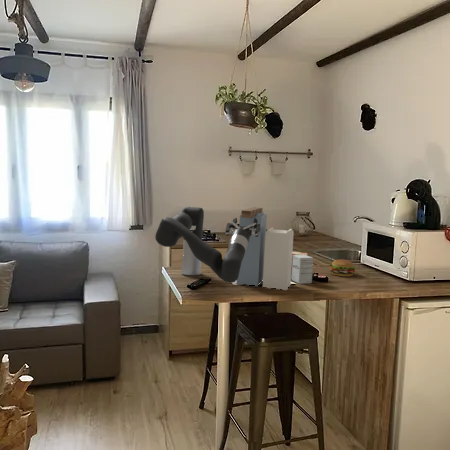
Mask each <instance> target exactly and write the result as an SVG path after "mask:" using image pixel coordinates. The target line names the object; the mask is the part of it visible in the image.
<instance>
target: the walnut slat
mask: <svg viewBox="0 0 450 450" xmlns="http://www.w3.org/2000/svg"><path fill="white" fill-rule="evenodd" d="M261 212H263V207H256V206H254V207H251V208H249V207H248V208H247V209H243V210H241V214H240V215H241V217H242V218H252V217H255V216H256V214H258V213H261Z"/></svg>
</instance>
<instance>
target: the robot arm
mask: <svg viewBox="0 0 450 450" xmlns="http://www.w3.org/2000/svg"><path fill="white" fill-rule="evenodd" d="M204 220H205V212H204V209H203V207H198V206H197V207H195V206H185V207H184V208H182V209H181V210H180V212H178V213H177V214H176V215H174V216H172V217H170V216H169V217H167V216H164V217H162V218H161V220H160V222H159V225H158V227H157V230H156V232H155V235H154V237H155V240H156V243H158V244H159V245H160V246H162V247H167V248H171V247H175V245H176V244H177V242H178V241H179V239H181V238H182V237H183V244H182V256H181V257H182V258H181V275H185V276H199V275H201V274H202V272H201V271H202V263H203V264H204V265H206V266H208V267H209V268H210V269H211V270H212V271H213V272H214V274H216V276H217V277H218V278H219V279H220V280H222V281H224V282H226V283H228V284H229V283H235V282H237V279H238V277H239V272H240V267H241V262H242V260H243V257H244V254H245V251H246V249H247V246H248V242H249V239H250V236H251V235H255V237H258V235H259V232H260V230H261V228H260V224H258V220H257V219H256V218H254V222H253V224H252V225H251V224H250V225H248V226H239V225H238V223H237V222H238V218H237V217H234V218H233V219H232V222H231V223H230V222H228V223H226V227H225V235H226V237H228V236H229V235H231V236H230V238H229V241H228V247H227V250H226V253H225V255H224V256H223V255H222V253H221V251H220V250H218V249H216V248H215V247H213V246H211V245H209V244H207V243H206V242H205V241H203V232H204V231H203V230H204ZM192 227H195V228H194V229H193V230H191V229H192ZM231 228H232V229H231ZM249 228H250V229H249ZM255 229H256V230H255Z"/></svg>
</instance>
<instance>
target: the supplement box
mask: <svg viewBox="0 0 450 450" xmlns="http://www.w3.org/2000/svg"><path fill="white" fill-rule="evenodd" d="M313 267H314V257H312V256H309V255H308V254H307V255H293V267H292V277H291V281H293V282H295V283H297V284H300V285H301V284H312V281H313V269H314V268H313Z"/></svg>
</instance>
